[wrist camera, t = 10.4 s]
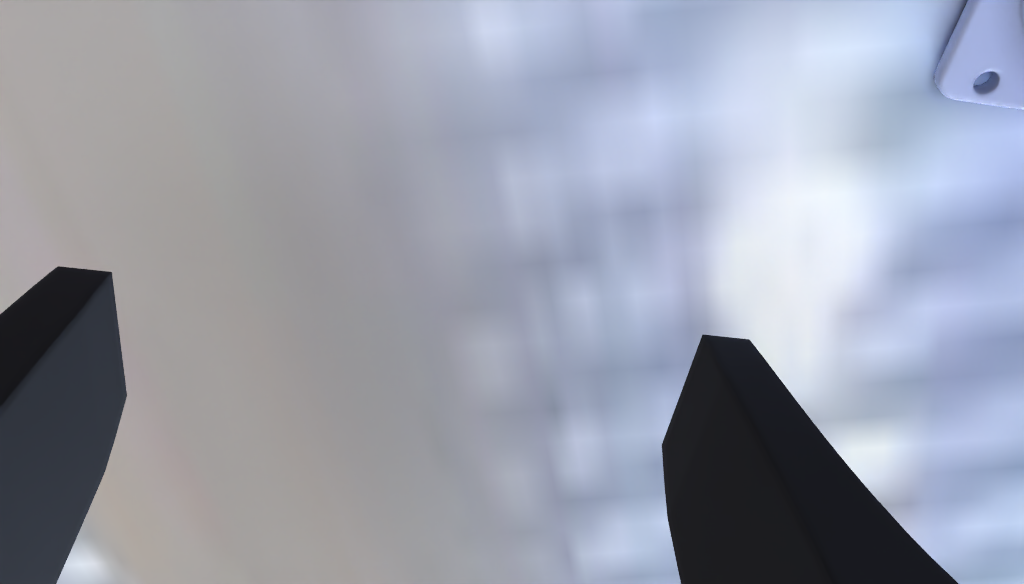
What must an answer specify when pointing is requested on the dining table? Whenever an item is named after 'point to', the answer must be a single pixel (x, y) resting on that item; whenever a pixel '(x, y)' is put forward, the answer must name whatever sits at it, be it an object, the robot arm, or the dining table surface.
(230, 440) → the dining table surface
